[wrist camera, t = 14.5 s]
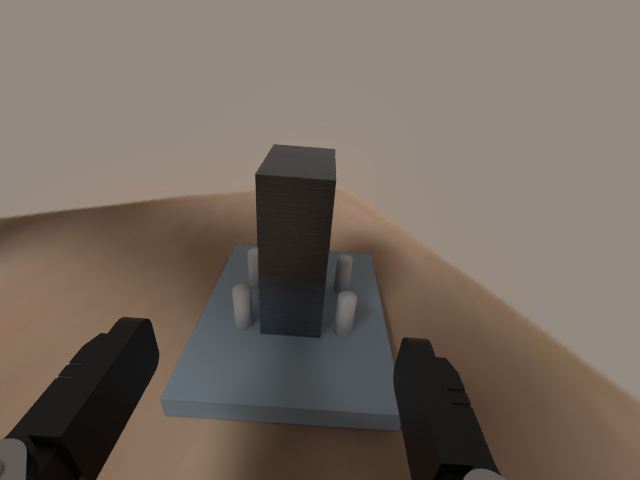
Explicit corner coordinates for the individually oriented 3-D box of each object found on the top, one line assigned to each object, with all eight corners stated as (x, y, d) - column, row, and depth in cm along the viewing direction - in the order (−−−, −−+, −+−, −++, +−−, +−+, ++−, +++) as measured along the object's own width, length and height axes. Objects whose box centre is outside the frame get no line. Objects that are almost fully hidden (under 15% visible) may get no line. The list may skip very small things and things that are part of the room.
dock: (165, 415, 18) (149, 360, 15) (237, 257, 32) (234, 215, 29) (398, 431, 18) (417, 379, 16) (368, 266, 32) (375, 226, 29)
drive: (260, 333, 21) (255, 174, 16) (274, 278, 27) (274, 144, 21) (320, 338, 21) (336, 180, 16) (322, 282, 27) (334, 149, 21)
